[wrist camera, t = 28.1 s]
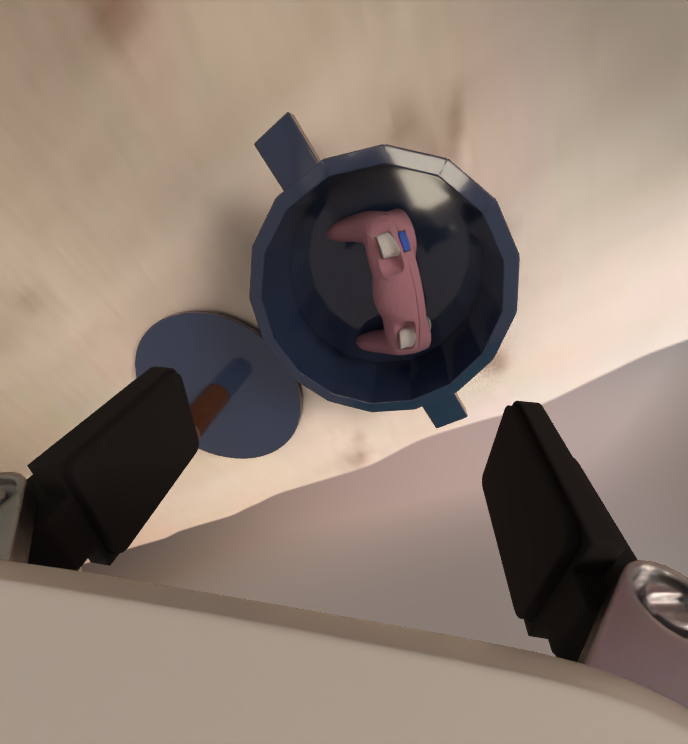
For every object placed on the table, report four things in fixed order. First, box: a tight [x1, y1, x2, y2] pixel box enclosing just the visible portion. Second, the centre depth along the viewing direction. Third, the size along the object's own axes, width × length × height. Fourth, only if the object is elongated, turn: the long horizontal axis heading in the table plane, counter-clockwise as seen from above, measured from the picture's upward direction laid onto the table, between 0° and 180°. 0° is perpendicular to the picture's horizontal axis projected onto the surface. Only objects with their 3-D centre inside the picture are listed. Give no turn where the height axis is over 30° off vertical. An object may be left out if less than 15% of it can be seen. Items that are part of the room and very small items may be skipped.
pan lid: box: [135, 311, 302, 459], centre depth 31 cm, size 17×17×7 cm
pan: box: [250, 112, 520, 428], centre depth 23 cm, size 16×21×7 cm
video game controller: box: [326, 208, 431, 355], centre depth 23 cm, size 10×5×7 cm, turn 16°
